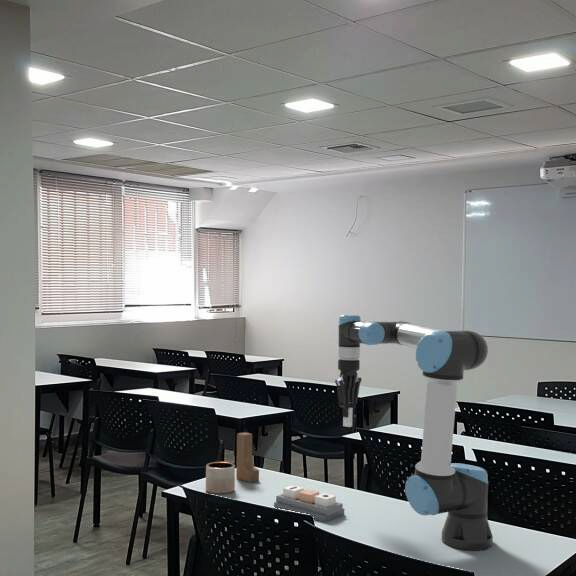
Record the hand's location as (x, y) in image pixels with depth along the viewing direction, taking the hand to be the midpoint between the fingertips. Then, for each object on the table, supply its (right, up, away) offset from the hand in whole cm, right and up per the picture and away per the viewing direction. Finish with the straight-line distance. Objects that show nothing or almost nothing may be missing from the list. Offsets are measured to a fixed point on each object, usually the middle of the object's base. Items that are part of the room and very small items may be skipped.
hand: (347, 426), depth 252 cm
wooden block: (-37, -28, +34) cm, 58 cm away
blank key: (-14, -25, -5) cm, 29 cm away
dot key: (-8, -25, -10) cm, 28 cm away
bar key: (-19, -24, -1) cm, 31 cm away
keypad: (-14, -28, -5) cm, 32 cm away
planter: (-46, -28, +18) cm, 57 cm away
